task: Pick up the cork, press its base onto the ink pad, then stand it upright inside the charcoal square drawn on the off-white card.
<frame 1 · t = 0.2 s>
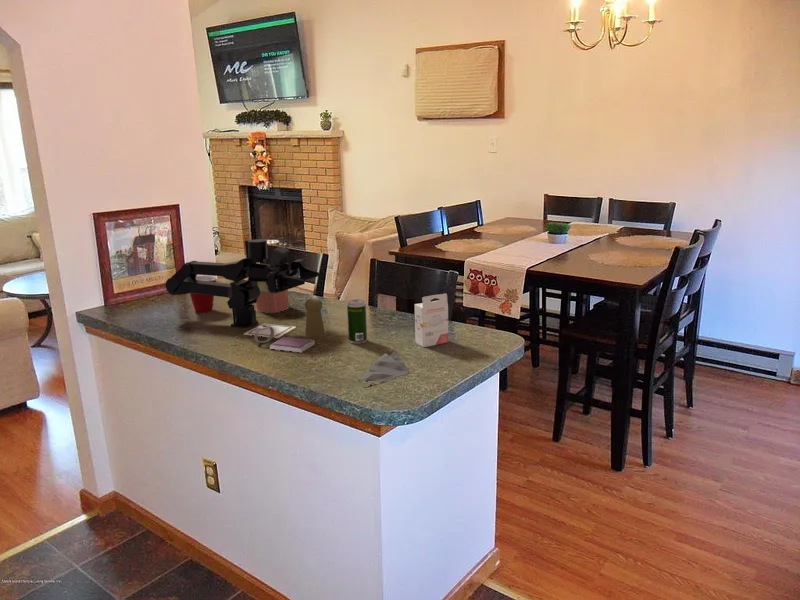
hand: (311, 278, 189), 17 cm above the worktop, tool horizontal, fingers open, 9 cm apart
marked card: (270, 331, 194), on the worktop
canned food: (272, 309, 219), on the worktop
cloth: (385, 373, 161), on the worktop
beer can: (357, 341, 183), on the worktop
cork: (315, 335, 190), on the worktop
plastic cup: (204, 311, 218), on the worktop
ink pad: (292, 346, 179), on the worktop
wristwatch: (264, 343, 183), on the worktop
ink cartridge box: (431, 343, 181), on the worktop
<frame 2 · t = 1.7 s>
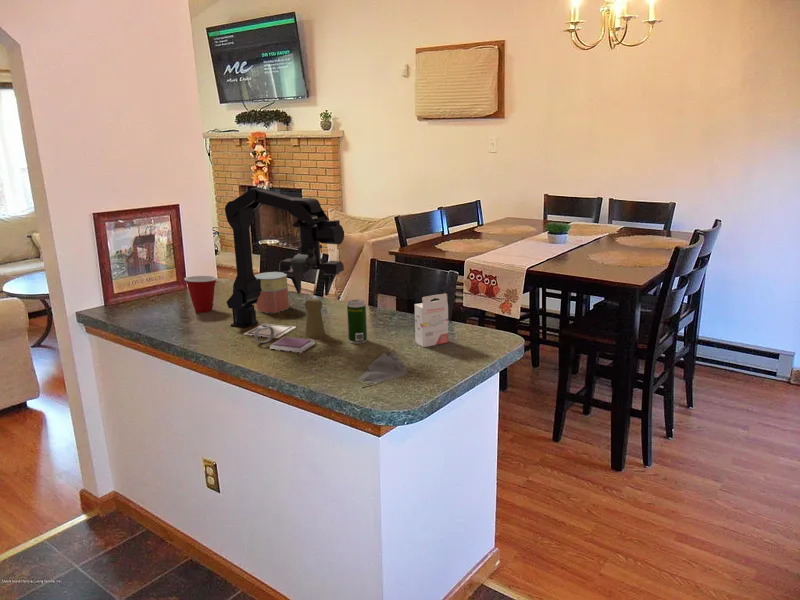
hand: (312, 294, 187), 13 cm above the worktop, tool pointing down, fingers open, 9 cm apart
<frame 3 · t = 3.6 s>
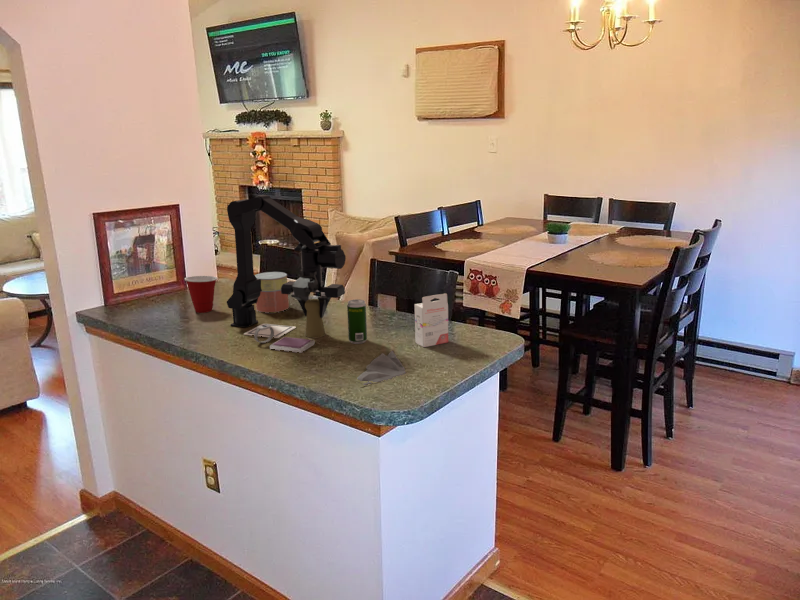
hand: (314, 317, 188), 6 cm above the worktop, tool pointing down, fingers closed on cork, 5 cm apart
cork: (315, 335, 190), on the worktop, touching gripper
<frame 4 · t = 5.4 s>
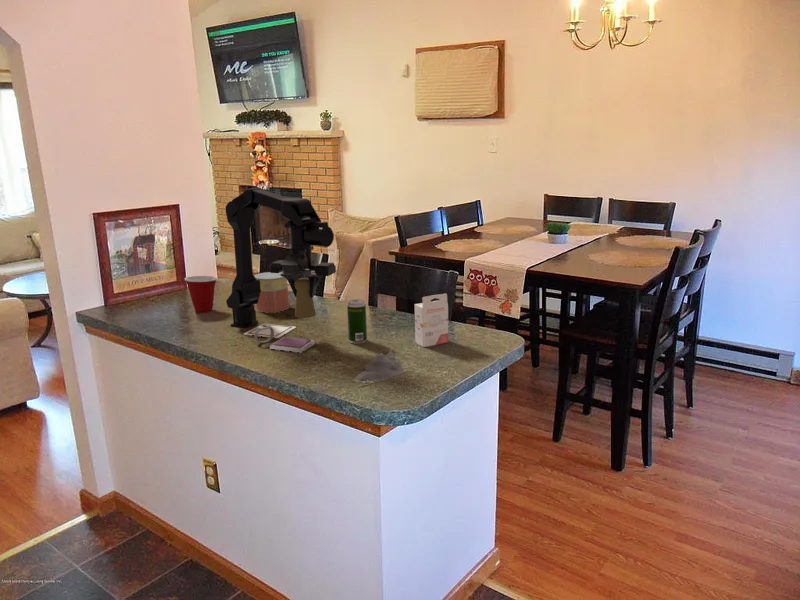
hand: (304, 296, 182), 13 cm above the worktop, tool pointing down, fingers closed on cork, 5 cm apart
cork: (305, 315, 184), point 7 cm above the worktop, touching gripper
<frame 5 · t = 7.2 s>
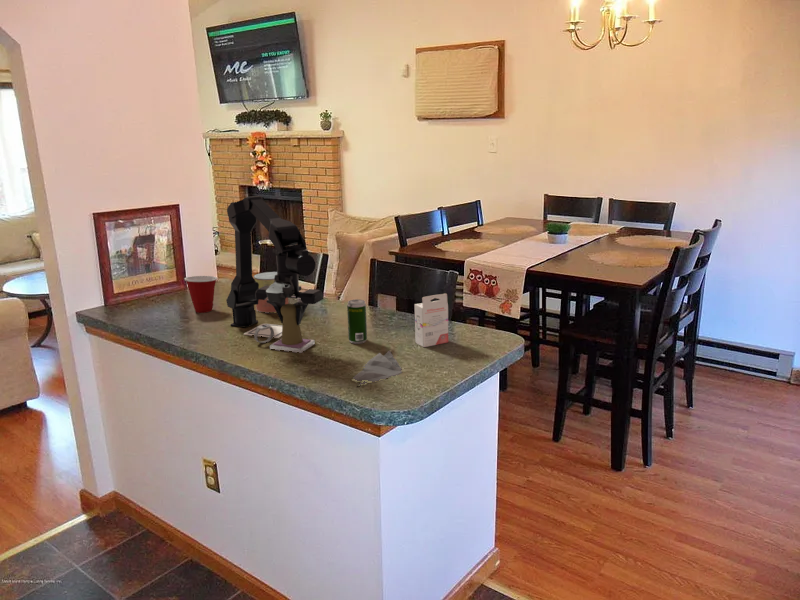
hand: (290, 323, 178), 7 cm above the worktop, tool pointing down, fingers closed on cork, 5 cm apart
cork: (292, 342, 179), point 1 cm above the worktop, touching gripper, ink pad
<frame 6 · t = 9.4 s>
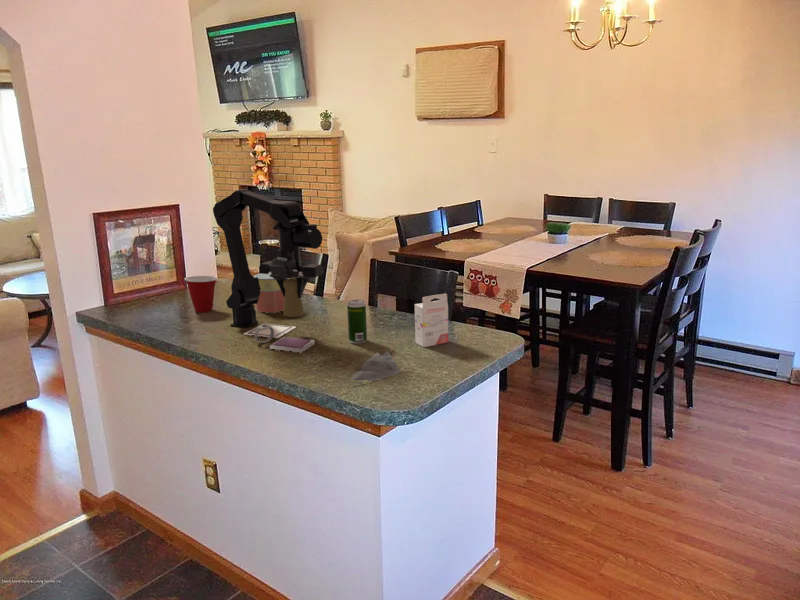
hand: (292, 297, 187), 12 cm above the worktop, tool pointing down, fingers closed on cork, 5 cm apart
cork: (293, 314, 188), point 6 cm above the worktop, touching gripper
when the fingers open (7 cm above the worktop, at t = 11.3 s): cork drops 1 cm, resting on marked card.
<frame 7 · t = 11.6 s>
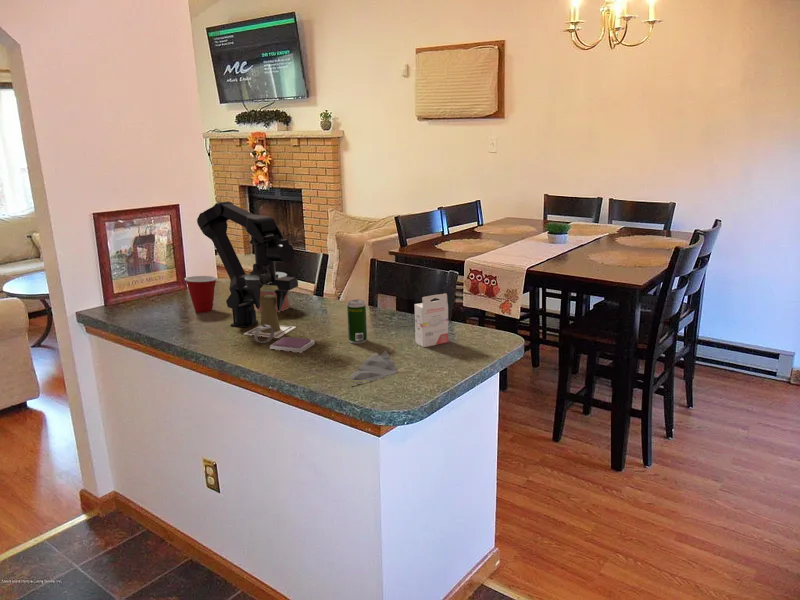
hand: (268, 309, 192), 7 cm above the worktop, tool pointing down, fingers open, 7 cm apart
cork: (270, 330, 194), resting on marked card
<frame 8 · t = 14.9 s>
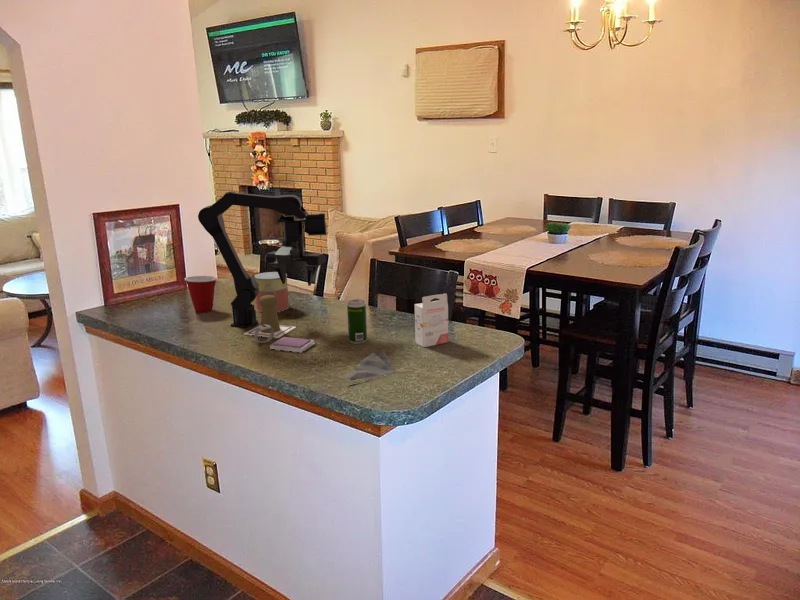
hand: (296, 284, 199), 12 cm above the worktop, tool pointing down, fingers open, 9 cm apart
at the end: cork 0.1 cm off-centre on the marked card, point 0.1 cm above the marked card's base; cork tilted 0°; the gripper is holding nothing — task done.
